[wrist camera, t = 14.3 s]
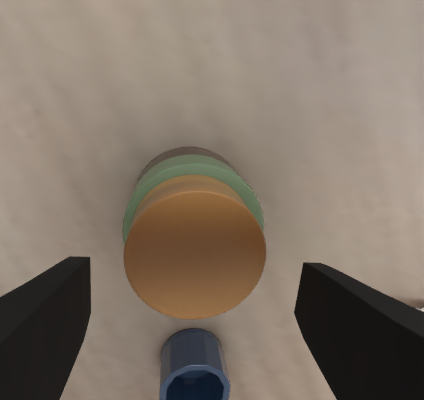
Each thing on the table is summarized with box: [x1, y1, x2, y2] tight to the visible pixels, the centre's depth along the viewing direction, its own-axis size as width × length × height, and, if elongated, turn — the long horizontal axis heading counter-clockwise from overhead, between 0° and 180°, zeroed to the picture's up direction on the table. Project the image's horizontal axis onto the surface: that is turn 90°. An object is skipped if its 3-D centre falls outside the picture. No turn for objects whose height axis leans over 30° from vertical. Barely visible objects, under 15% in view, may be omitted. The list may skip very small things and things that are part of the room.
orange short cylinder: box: [124, 175, 266, 319], centre depth 14 cm, size 5×5×3 cm
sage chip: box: [123, 154, 264, 245], centre depth 16 cm, size 6×6×2 cm
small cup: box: [159, 329, 230, 400], centre depth 21 cm, size 4×4×3 cm
